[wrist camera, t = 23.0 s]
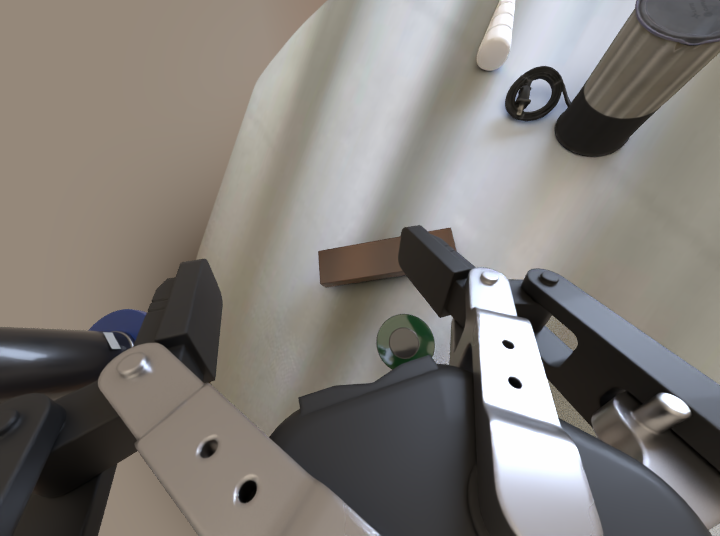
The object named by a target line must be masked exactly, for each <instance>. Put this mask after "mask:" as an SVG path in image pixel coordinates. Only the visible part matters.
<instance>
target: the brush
mask: <svg viewBox="0 0 720 536" xmlns="http://www.w3.org/2000/svg"><path fill="white" fill-rule="evenodd" d="M429 233H430V234H432V235H435V236H437V237H439V238H441V239H442V240H444V241H445V242H446V243H447V244H448V245H449V246H451V247H452V248H453V249H454V250H455V252H456V247H455V243H454V239H453V235H452V231H451V228H446V229H440V230H434V231H429ZM400 239H401V237H395V238H389V239H384V240H378V241H373V242H367V243H361V244H356V245H350V246H345V247H339V248H333V249H328V250H322V251H318V255H319V271H320V284H321V285H323V286H324V287H332V286H338V285H345V284H351V283H358V282H364V281H371V280H378V279H384V278H391V277H397V276H404V275H406V274H405V273H404V272H403V271H402V269H401V268H400V266H399V262H398V253H399V246H400Z"/></svg>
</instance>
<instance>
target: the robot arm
mask: <svg viewBox="0 0 720 536" xmlns="http://www.w3.org/2000/svg"><path fill="white" fill-rule="evenodd" d="M398 262H399V266H400V268H401V269H402V271H403V272H404V273H405V274H406V276H407V277H408V278H409V279H410V281H411V282H412V283H413V285H414V286H415V287H416V288H417V290H418V291H419V292H420V293H421V295H422V296H423V297H424V298H425V300H426V301H427V302H428V303H429V305H430V306H431V307H432V309H433V310H434V311H435V312H436V314H437V315H438V316H439V317H440V318H441V317H445V316H448V315H451V316H452V317H453V319H452V322H451V342H450V361H449V365H446V364H436V363H435V362H434V360H433V359H432V357H431V355H427V356H424V357H421V358H418V359H415V360H412V361H409V362H406V363H403V364H401V365H399V366H398V367H396V368H395V369H393V370H392V371H390V372H389V373H387V374H386V375H384V376H383V377H381V378H380V379H378V380H377V381H375V382H373V383H368V384H353V385H338V386H332V387H329V388H326V389H323V390H320V391H317V392H314V393H311V394H308V395H305V396H302V397H299V404H300V409H299V410H297V411H296V412H294V413H293V414H291V415H290V416H289V417H288V418H287V419H285V420H284V421H283V422H282V423H281V424H280V425H279V426H278V427H277V428H276V429H275V431H274V432H273V433H272V434H271V436H270V437H268V436H267V435H266V434H265V433H264V432H262V431H261V430H260V429H259V428H258V427H257V426H256V425H255V424H254V423H253V422H252V421H250V420H249V419H248V418H247V417H246V416H245V415H244V414H243V413H242V412H241V411H240V410H238V409H237V408H236V407H235V406H234V405H233V404H232V403H231V402H230V401H229V400H228V399H226V398H225V397H224V396H223V395H222V394H221V393H220V392H219V391H218V390H217V389H216V388H214V387H213V386H212V385H211V384H209V383H208V382H211V381H214V380H215V376H216V366H217V356H218V346H219V336H220V326H221V316H222V305H223V304H222V296H221V292H220V289H219V287H218V284H217V282H216V280H215V277H214V275H213V272H212V270H211V268H210V265H209V263H208V261H207V260H206V259H199V260H194V261H187V262H182V263H181V264H180V267H179V269H178V272H177V275H176V277H175V278H169V279H167V280H166V281H164V283H163V284H161V285H160V286H159V287H158V288H157V290H156V292H155V294H154V296H153V299H152V303H151V304H150V306H149V309H148V313H146V316H145V318H144V321H143V323H142V326H141V328H140V330H139V333H138V335H137V338H136V340H134V338H133V337H132V336H131V335H130V334H128V333H126V332H122V331H111V332H107V331H85V330H61V329H35V328H12V327H0V536H98V533H99V530H100V526H101V522H102V519H103V515H104V511H105V507H106V504H107V500H108V496H109V493H110V489H111V485H112V481H113V478H114V474H115V470H116V467H117V463H119V462H120V461H122V460H123V459H125V458H127V457H128V456H130V455H132V454H133V453H135V452H137V451H138V452H139V453H140V455H141V456H142V457H143V459H144V460H145V462H146V463H147V465H148V466H149V467H150V469H151V470H152V472H153V473H154V474H155V476H156V477H157V479H158V480H159V481H160V483H161V484H162V485H163V487H164V488H165V490H166V491H167V493H168V494H169V495H170V497H171V498H172V499H173V501H174V502H175V504H176V505H177V506H178V508H179V509H180V511H181V512H182V513H183V515H184V516H185V518H186V519H187V520H188V522H189V523H190V525H191V526H192V527H193V529H194V530H195V532H196V533H197V534H198V536H712V535H711V533H710V532H709V529H711V528H713V527H714V526H716V525H717V524H719V523H720V385H719V384H717V383H716V382H714V381H713V380H712V379H710V378H709V377H707V376H706V375H704V374H703V373H701V372H700V371H699V370H697V369H696V368H694V367H693V366H691V365H690V364H688V363H687V362H685V361H684V360H683V359H681V358H680V357H678V356H677V355H675V354H674V353H672V352H671V351H669V350H668V349H667V348H665V347H664V346H662V345H661V344H659V343H658V342H656V341H655V340H654V339H652V338H651V337H649V336H648V335H646V334H645V333H643V332H642V331H640V330H639V329H638V328H636V327H635V326H633V325H632V324H630V323H629V322H627V321H626V320H625V319H623V318H622V317H620V316H619V315H617V314H616V313H614V312H613V311H611V310H610V309H609V308H607V307H606V306H604V305H603V304H601V303H600V302H598V301H597V300H595V299H594V298H593V297H591V296H590V295H588V294H587V293H585V292H584V291H582V290H581V289H580V288H578V287H577V286H575V285H574V284H572V283H571V282H569V281H568V280H566V279H565V278H564V277H562V276H560V275H559V274H557V273H554V272H552V271H549V270H545V269H531V270H529V271H528V272H527V274H526V276H525V278H524V280H510V279H507V278H506V277H505V276H504V275H503V274H501V273H500V272H498V271H496V270H493V269H490V268H484V267H478V268H476V267H474V266H473V265H472V264H471V263H470V262H468V261H467V260H466V259H465V258H464V257H463V256H461V255H460V254H459V253H458V252H457V251H456V252H455V250H454V249H453V248H452V247H451V246H449V245H448V244H447V243H446V242H445V241H444V240H442V239H441V238H439V237H437V236H435V235H432V234H430V233H429V232H428V231H426V230H425V229H424V228H423V227H422V226H420V225H418V226H411V227H405V228H403V229H402V232H401V239H400V246H399V253H398ZM552 315H553V316H554V317H555V318H556V319H558V320H559V321H560V322H561V323H562V324H564V325H565V326H566V327H567V328H568V329H569V330H571V331H572V332H573V333H574V334H575V336H576V337H577V340H578V346H577V348H576V349H575V350H574V351H572V350H571V349H570V348H569V347H568V346H567V345H566V344H565V343H563V342H562V341H561V340H560V339H559V338H558V337H557V336H556V335H555V334H554V333H552V332H551V331H550V330H549V329H548V328H547V327H546V326H545V325H546V323H547V322H548V320H549V319H550V317H551V316H552ZM547 379H548V380H549V381H550V382H551V383H552V384H553V385H554V386H555V387H556V389H557V390H558V391H559V392H560V393H561V394H562V395H563V396H564V397H565V398H566V399H567V401H568V402H569V403H570V404H571V405H572V406H573V407H574V408H575V409H576V410H577V411H578V413H579V414H580V415H581V416H582V417H583V418H584V419H585V420H586V421H587V422H588V423H589V424H590V426H591V427H592V428H593V429H594V431H595V433H596V435H597V436H595V437H594V436H592V435H590V434H588V433H586V432H584V431H582V430H580V429H579V428H577V427H575V426H573V425H571V424H569V423H567V422H565V421H563V420H561V419H560V418H558V416H557V412H556V409H555V406H554V402H553V399H552V395H551V392H550V388H549V385H548V381H547Z"/></svg>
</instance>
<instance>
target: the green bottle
mask: <svg viewBox="0 0 720 536" xmlns="http://www.w3.org/2000/svg"><path fill="white" fill-rule="evenodd" d="M434 348H435V343H434V337H433V334H432V332H431V330H430V328H429V327H428V326H427V324H426V323H425V322H424V321H422V320H421V319H419V318H418V317H416V316H413V315H409V314H400V315H396V316H393V317H391V318H389V319H388V320H387V321H386V322H384V324H383V325H382V326H381V328H380V330H379V332H378V335H377V350H378V353H379V355H380V357H381V359H382V361H383V362H384V363H385V364H386V365H387V366H388V367H389V368H391V369H392V370H393V369H395V368H396V367H398V366H399V365H401V364H403V363H406V362H409V361H412V360H415V359H418V358H421V357H424V356H427V355H431V357H432V356H433V353H434Z"/></svg>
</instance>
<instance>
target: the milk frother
mask: <svg viewBox="0 0 720 536" xmlns="http://www.w3.org/2000/svg"><path fill="white" fill-rule="evenodd" d="M719 53H720V0H637V1H636V5H635V9H634V11H633V12H632V14H631V15H630V17H629V18H628V20H627V21H626V23H625V24H624V26H623V27H622V28H621V30H620V31H619V33H618V34H617V36H616V37H615V39H614V40H613V42H612V43H611V45H610V47H609V48H608V50H607V51H606V53H605V54H604V56H603V57H602V59H601V60H600V62H599V63H598V65H597V66H596V68H595V69H594V71H593V72H592V74H591V75H590V77H589V78H588V80H587V81H586V83H585V84H584V86H583V87H582V89H581V90H580V92H579V93H578V94H577V96H576V97H575V99H574V100H573V101H572V103H571V102H570V100H569V98H568V95H567V92H566V88H565V85H564V83H563V80H562V77H561V75H560V74H559V73H558V72H557V71H556V70H555V69H553V68H551V67H548V66H540V67H536V68H533V69H531V70H529V71H528V72H526V73H525V74H523V75H521V76H520V77H519V78H518V79H517V80H516V81H515V82H514V84H513V85H512V86H511V88H510V89H509V91H508V93H507V96H506V100H505V106H506V110H507V112H508V113H509V114H510V115H511V116H512V117H513V118H515V119H518V120H523V121H532V120H537V119H539V118H541V117H544V116H545V115H547V114H548V113H549V112H550V111H551V110H552V109H553V108H554V107H555V106H556V105H557V103H558V101H559V99H560V96H561V92H563V95H564V98H565V102H566V104H567V106H568V108H567V110H566V111H565V112H563V113H562V114H561V115H560V117H559V118H558V120H557V122H556V125H555V133H556V136H557V138H558V140H559V142H560V143H561V144H562V145H563V146H564V147H565V148H566V149H568V150H570V151H572V152H574V153H577V154H581V155H585V156H602V155H607V154H610V153H613V152H615V151H617V150H618V149H620V148H621V147H622V146H623V145H624V144H625V143H626V142H627V141H628V139H629V137H630V136H631V135H632V134H633V133H634V132H635V131H636V130H637V129H638V128H639V127H640V126H641V125H642V124H643V123H644V122H645V121H646V120H647V119H648V118H649V117H650V116H652V115H653V114H654V113H655V112H656V111H657V110H658V109H659V108H660V107H661V106H662V105H663V104H664V103H665V102H667V101H668V100H669V99H670V98H671V97H672V96H673V95H674V94H676V93H677V92H678V91H679V90H680V89H681V88H682V87H683V86H684V85H685V84H686V83H687V82H688V81H689V80H691V79H692V78H693V77H694V76H695V75H696V74H697V73H698V72H699V71H700V70H701V69H702V68H703V67H704V66H706V65H707V64H708V63H709V62H710V61H711V60H712V59H713V58H714V57H715V56H716V55H717V54H719ZM536 79H543V80H546V81H547V82H548V83H549V84H550V86H551V89H552V95H551V98H550V100H549V101H548V103H547V104H546V105H545V106H544V107H542V108H541V109H539V110H537V111H533V112H524V111H523V110H524V109H525V108H526V107H527V106H528V105H529V104H530V102H531V100H529V96H530V90H531V87H530V85H531V83H532V81H533V80H536ZM519 89H520V90H519ZM518 90H519V92H518ZM517 92H518V93H519V95H518V98H517V100H516V102H515V97H516V94H517Z"/></svg>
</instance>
